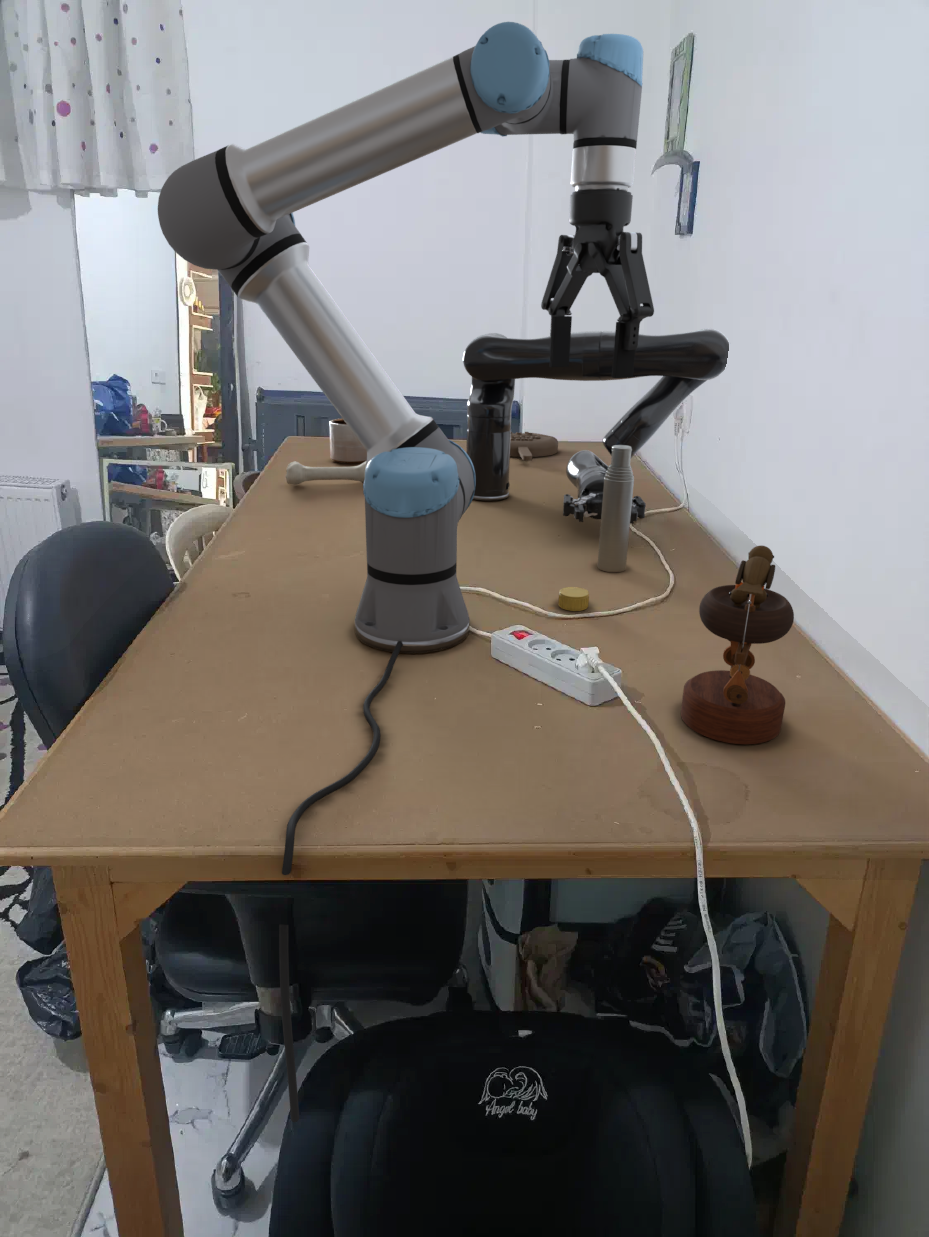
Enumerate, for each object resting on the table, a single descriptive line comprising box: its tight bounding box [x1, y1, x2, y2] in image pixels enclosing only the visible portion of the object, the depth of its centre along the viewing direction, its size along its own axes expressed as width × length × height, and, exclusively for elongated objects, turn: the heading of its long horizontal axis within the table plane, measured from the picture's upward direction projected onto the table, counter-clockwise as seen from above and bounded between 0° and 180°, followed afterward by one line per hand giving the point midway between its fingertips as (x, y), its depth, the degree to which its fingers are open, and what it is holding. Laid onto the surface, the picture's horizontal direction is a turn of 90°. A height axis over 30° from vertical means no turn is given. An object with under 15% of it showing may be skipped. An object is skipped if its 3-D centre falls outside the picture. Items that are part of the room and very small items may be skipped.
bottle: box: [596, 445, 635, 573], centre depth 135 cm, size 5×5×20 cm
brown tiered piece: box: [680, 545, 795, 745], centre depth 89 cm, size 15×11×20 cm
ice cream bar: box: [510, 431, 559, 462], centre depth 222 cm, size 21×28×4 cm
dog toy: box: [285, 460, 366, 486], centre depth 189 cm, size 20×6×5 cm, turn 99°
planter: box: [328, 417, 367, 464], centre depth 212 cm, size 11×11×10 cm
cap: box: [557, 586, 590, 612], centre depth 122 cm, size 4×4×2 cm
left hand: (589, 372), depth 110 cm, fingers open, 13 cm apart
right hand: (606, 517), depth 143 cm, fingers open, 8 cm apart
